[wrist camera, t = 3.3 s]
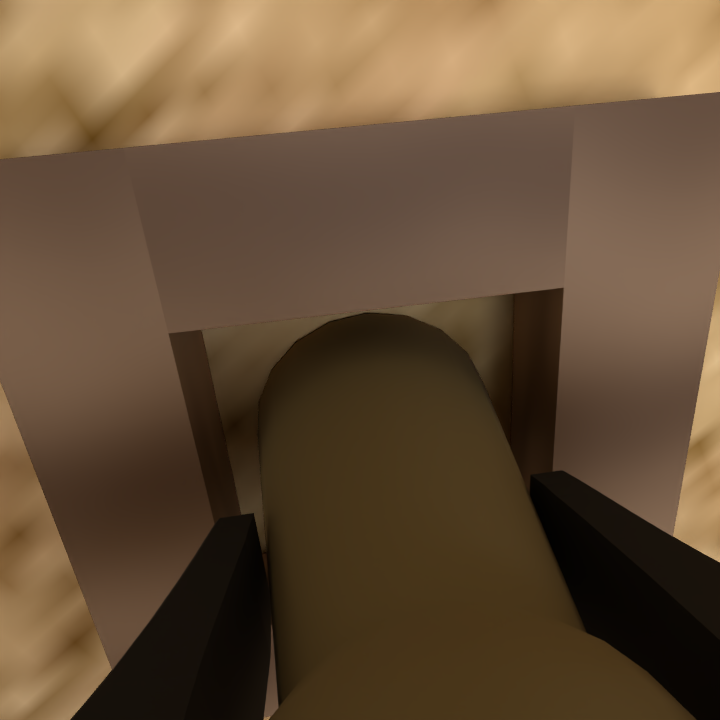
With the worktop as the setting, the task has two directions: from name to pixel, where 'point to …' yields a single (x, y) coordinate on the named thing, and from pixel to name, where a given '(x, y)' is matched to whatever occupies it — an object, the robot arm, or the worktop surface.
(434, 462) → the olive brown rounded piece
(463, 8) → the worktop surface
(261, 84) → the worktop surface
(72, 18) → the worktop surface
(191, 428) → the walnut holder
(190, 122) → the worktop surface
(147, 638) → the robot arm
